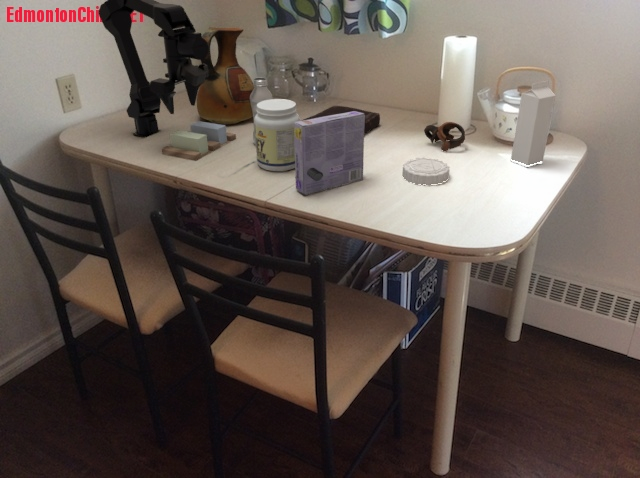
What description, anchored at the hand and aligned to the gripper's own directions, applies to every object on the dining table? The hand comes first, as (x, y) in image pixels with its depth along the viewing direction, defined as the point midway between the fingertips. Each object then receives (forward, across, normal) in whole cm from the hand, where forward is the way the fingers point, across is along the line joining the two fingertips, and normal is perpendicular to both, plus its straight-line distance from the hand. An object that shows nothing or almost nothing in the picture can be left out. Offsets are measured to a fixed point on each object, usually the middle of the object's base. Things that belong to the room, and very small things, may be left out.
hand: (182, 109), depth 166 cm
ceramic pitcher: (+11, +25, +3) cm, 28 cm away
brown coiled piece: (+10, +34, -69) cm, 77 cm away
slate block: (+10, +4, -6) cm, 12 cm away
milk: (+9, +31, -93) cm, 99 cm away
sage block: (+10, -5, -6) cm, 13 cm away
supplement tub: (+10, 0, -33) cm, 35 cm away
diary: (+11, +31, -35) cm, 48 cm away
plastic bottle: (+11, +10, -22) cm, 26 cm away
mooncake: (+10, +10, -72) cm, 73 cm away
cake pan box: (+10, -6, -52) cm, 53 cm away
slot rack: (+11, -1, -6) cm, 12 cm away
